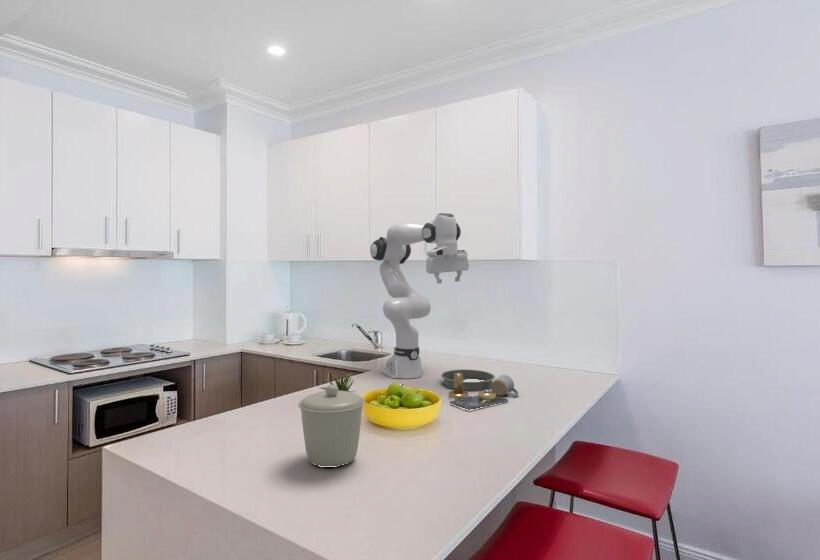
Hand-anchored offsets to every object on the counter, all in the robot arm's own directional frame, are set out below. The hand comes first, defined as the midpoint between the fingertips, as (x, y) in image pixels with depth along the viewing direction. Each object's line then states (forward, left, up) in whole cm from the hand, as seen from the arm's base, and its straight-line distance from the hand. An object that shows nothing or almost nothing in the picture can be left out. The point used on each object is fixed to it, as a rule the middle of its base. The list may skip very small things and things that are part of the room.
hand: (448, 282), depth 202 cm
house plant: (+7, -56, -47) cm, 73 cm away
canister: (+39, -75, -47) cm, 97 cm away
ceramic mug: (+20, +14, -47) cm, 53 cm away
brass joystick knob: (+12, -5, -47) cm, 49 cm away
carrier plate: (+23, -4, -47) cm, 53 cm away
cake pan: (-2, +13, -48) cm, 49 cm away
